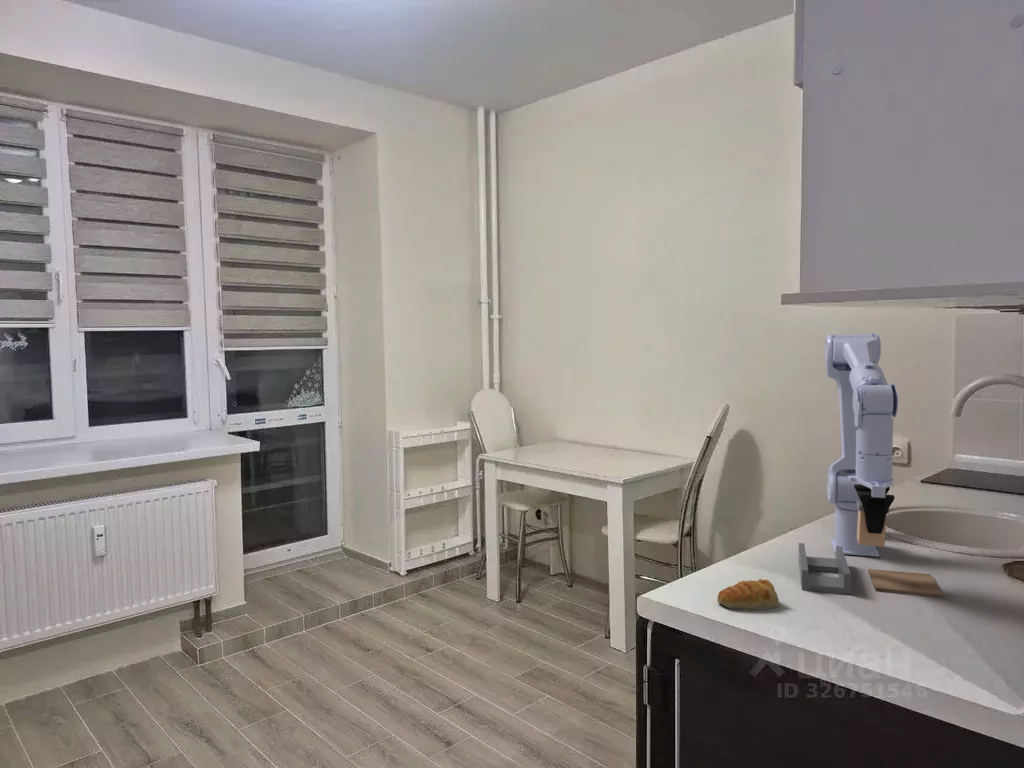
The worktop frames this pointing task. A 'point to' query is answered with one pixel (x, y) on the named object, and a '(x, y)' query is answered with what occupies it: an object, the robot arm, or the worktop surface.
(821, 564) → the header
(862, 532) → the plug
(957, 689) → the worktop surface
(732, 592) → the pastry
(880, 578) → the walnut pad
